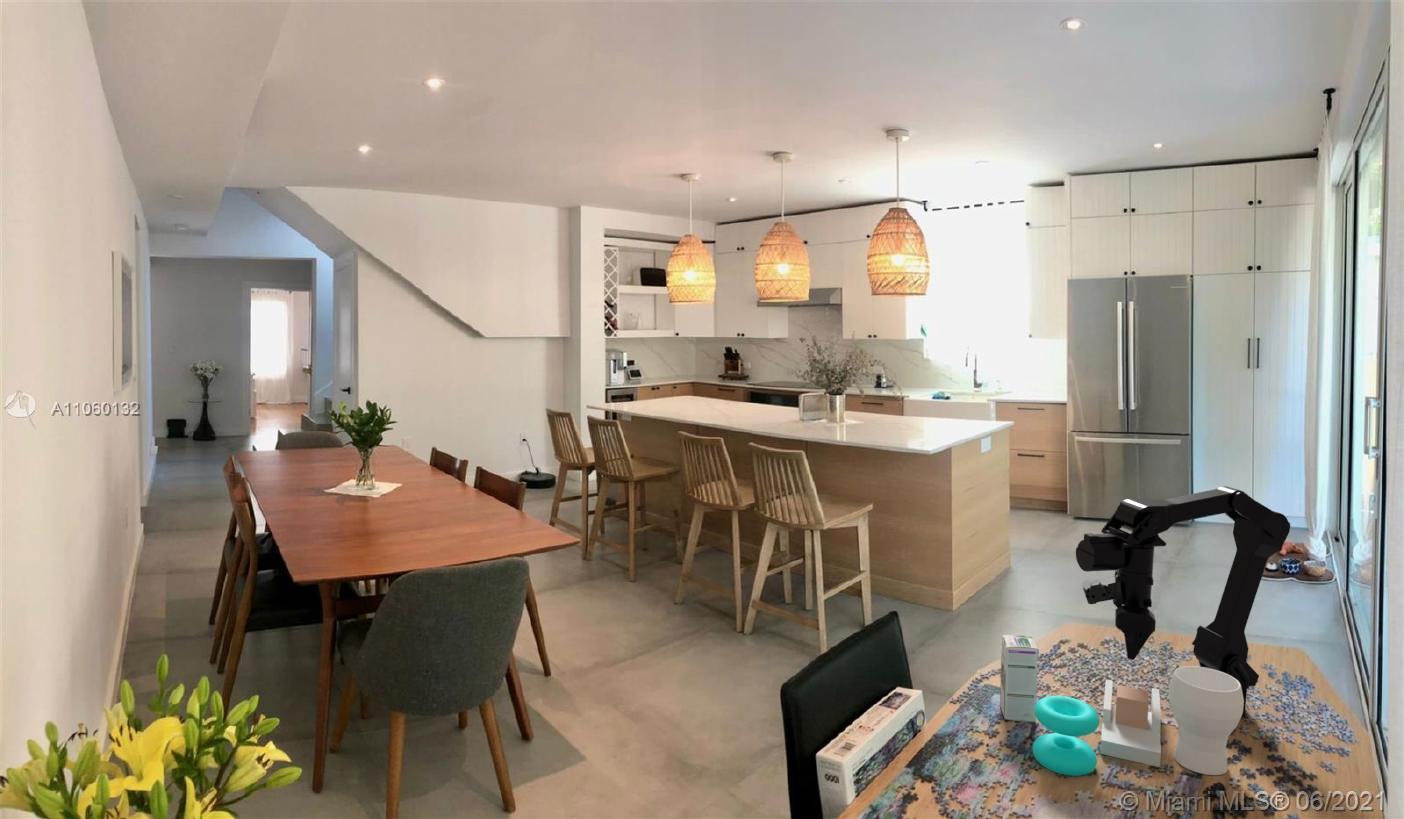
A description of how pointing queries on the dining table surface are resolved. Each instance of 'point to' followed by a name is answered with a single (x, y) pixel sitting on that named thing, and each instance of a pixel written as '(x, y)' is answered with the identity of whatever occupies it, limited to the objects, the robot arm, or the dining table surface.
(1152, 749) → the grey channel
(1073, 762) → the donuts
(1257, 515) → the robot arm
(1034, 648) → the syrup box
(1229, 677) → the cup
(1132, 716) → the terracotta cube
